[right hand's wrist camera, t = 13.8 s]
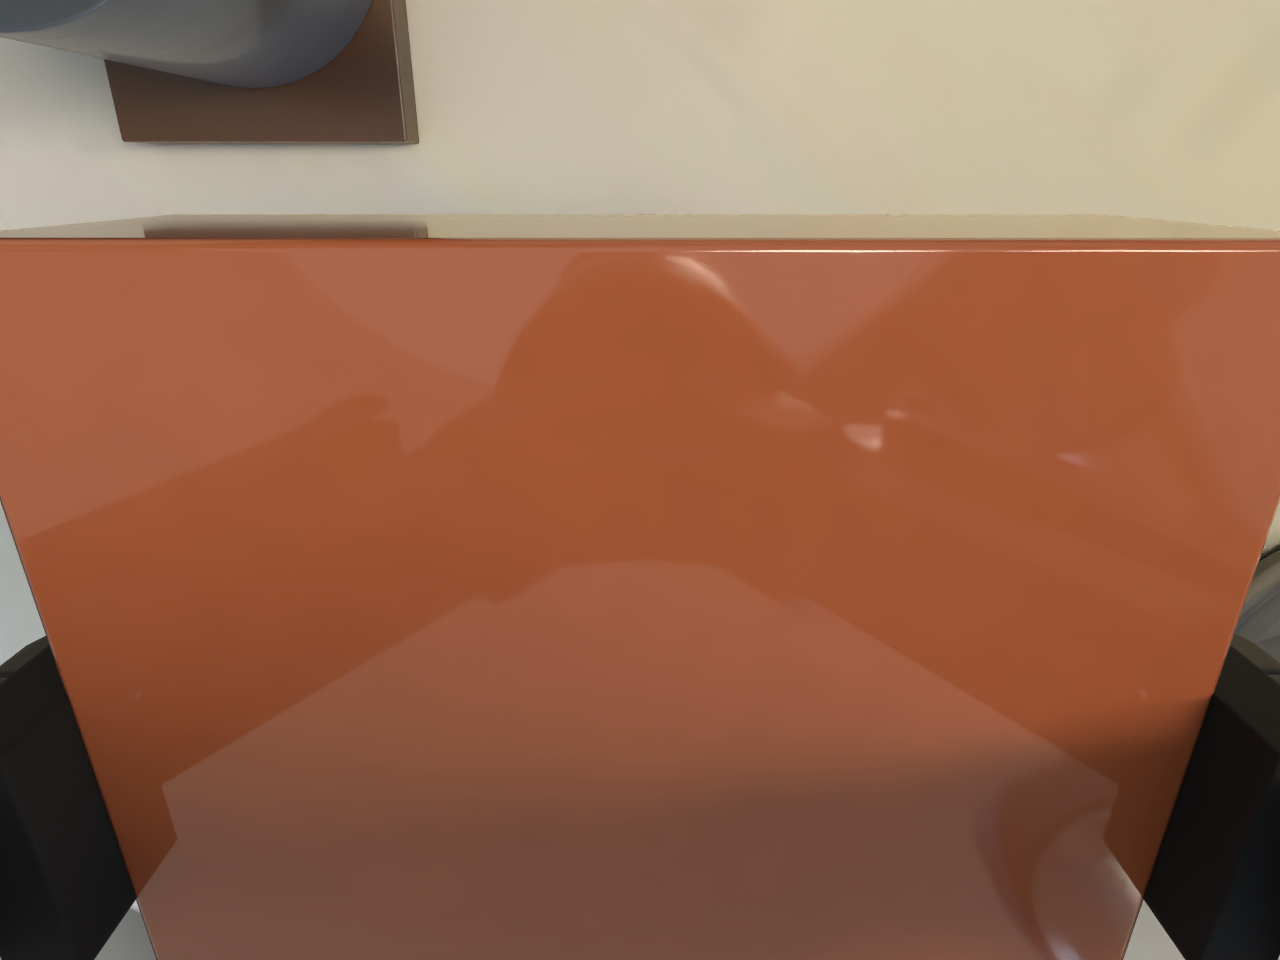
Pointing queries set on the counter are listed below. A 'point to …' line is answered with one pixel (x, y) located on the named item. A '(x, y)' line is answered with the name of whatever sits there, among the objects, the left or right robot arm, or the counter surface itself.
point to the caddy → (240, 66)
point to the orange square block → (639, 570)
